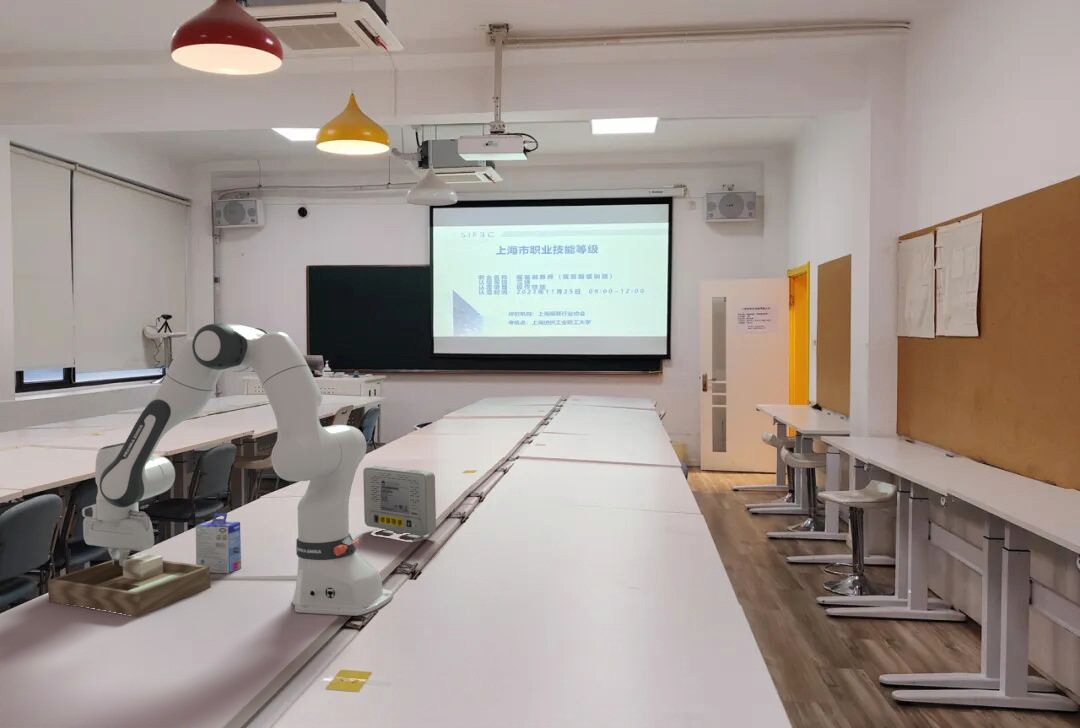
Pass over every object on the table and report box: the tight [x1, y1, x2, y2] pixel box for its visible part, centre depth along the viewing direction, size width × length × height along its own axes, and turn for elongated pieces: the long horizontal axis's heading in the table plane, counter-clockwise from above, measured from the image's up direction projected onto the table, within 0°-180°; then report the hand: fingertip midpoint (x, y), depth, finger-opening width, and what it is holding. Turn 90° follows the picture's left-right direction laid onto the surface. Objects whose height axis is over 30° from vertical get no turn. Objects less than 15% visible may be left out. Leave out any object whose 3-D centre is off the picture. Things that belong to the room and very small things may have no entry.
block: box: [123, 553, 164, 580], centre depth 175 cm, size 6×6×4 cm
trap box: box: [47, 555, 211, 618], centre depth 170 cm, size 28×20×5 cm
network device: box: [362, 465, 437, 543], centre depth 218 cm, size 26×9×20 cm, turn 58°
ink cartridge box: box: [195, 512, 242, 574], centre depth 187 cm, size 10×6×14 cm, turn 78°
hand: (119, 565), depth 178 cm, fingers closed
